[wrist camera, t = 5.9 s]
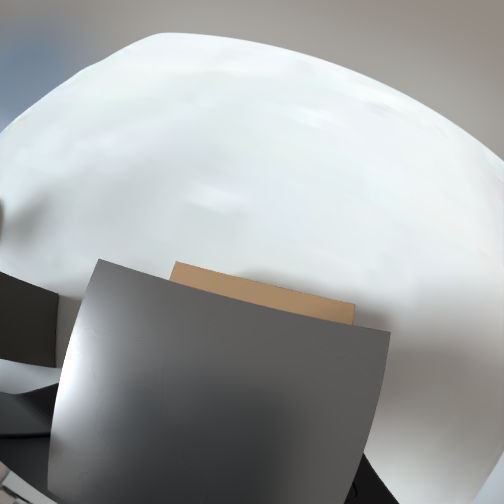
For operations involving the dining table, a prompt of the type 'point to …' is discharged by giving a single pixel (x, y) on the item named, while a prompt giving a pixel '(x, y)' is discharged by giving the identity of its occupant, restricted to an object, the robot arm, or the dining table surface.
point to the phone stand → (27, 322)
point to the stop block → (208, 399)
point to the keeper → (263, 294)
